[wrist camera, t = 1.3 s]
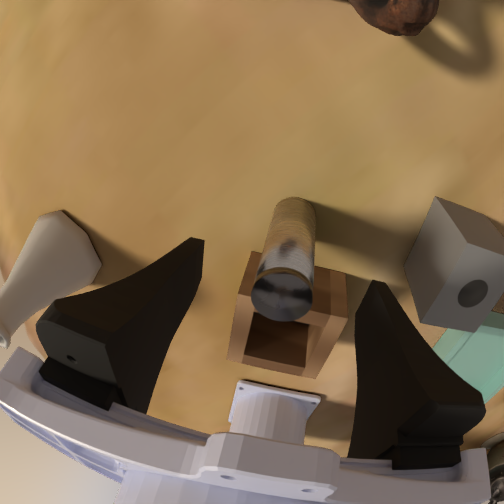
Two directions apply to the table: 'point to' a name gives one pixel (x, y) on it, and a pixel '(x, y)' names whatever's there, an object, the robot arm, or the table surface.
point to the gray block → (456, 267)
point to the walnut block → (289, 327)
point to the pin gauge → (287, 263)
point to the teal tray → (477, 354)
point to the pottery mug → (397, 14)
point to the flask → (46, 271)
